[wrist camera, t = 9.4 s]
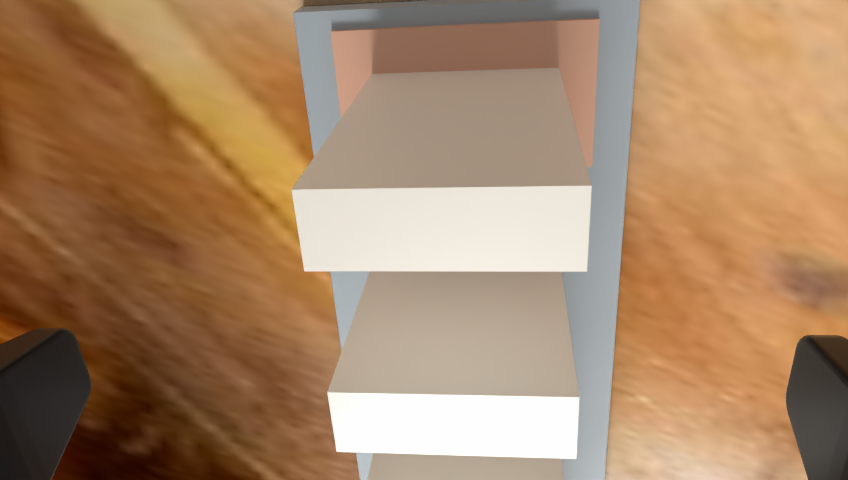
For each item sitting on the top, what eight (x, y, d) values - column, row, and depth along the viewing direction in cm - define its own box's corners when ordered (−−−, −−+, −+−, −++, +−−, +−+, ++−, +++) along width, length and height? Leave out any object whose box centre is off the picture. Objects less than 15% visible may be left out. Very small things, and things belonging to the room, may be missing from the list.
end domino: (557, 126, 19) (586, 271, 12) (377, 130, 20) (304, 271, 13) (558, 67, 18) (592, 185, 11) (372, 73, 19) (291, 190, 12)
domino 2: (550, 383, 23) (569, 602, 16) (402, 381, 24) (358, 591, 17) (551, 344, 23) (571, 555, 15) (399, 342, 23) (351, 545, 16)
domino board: (593, 574, 29) (596, 601, 28) (378, 563, 30) (374, 589, 29) (633, -11, 18) (641, -4, 17) (303, 6, 19) (291, 13, 18)
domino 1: (553, 266, 21) (576, 458, 14) (391, 267, 22) (336, 451, 15) (554, 219, 21) (579, 397, 13) (387, 220, 21) (327, 392, 14)
